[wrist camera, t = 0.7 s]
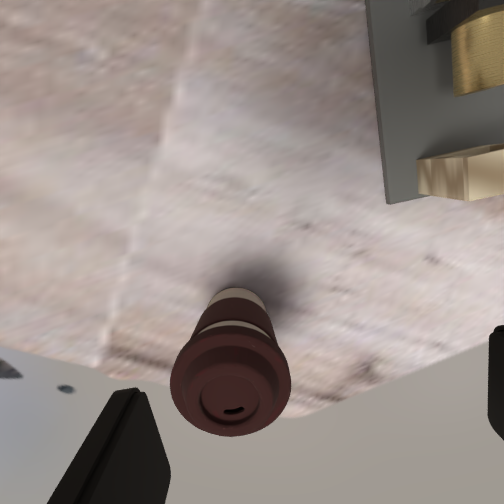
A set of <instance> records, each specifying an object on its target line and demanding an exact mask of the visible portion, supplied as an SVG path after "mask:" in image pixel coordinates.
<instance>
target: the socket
mask: <svg viewBox="0 0 504 504" xmlns="http://www.w3.org/2000/svg"><path fill="white" fill-rule="evenodd" d="M416 165H417V178H418V191H419V194H424V195H430V196H437V197H444V198H450V199H457V200H464V201H473V200H478V199H482V198H487V197H492V196H496V195H501V194H504V143H502V144H492V145H481V146H476V147H472V148H467V149H463V150H458V151H454V152H449V153H445V154H440V155H436V156H431V157H427V158H423V159H418V160H416Z"/></svg>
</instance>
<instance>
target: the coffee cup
mask: <svg viewBox="0 0 504 504" xmlns="http://www.w3.org/2000/svg"><path fill="white" fill-rule="evenodd" d="M170 389H171V395H172V399H173V401H174V404H175V406H176V407H177V409H178V410H179V412H180V413H181V415H183V417H184V418H185V419H186V420H187V421H189V422H190V423H191V424H193V425H194V426H195V427H197V428H199V429H201V430H203V431H206V432H208V433H211V434H215V435H219V436H229V437H233V436H242V435H247V434H251V433H254V432H256V431H258V430H261V429H263V428H265V427H266V426H268V425H269V424H271V423H272V422H273V421H274V420H275V419H276V418H277V417H278V416H279V415H280V414H281V413H282V411H283V410H284V408H285V406H286V404H287V402H288V400H289V397H290V392H291V377H290V372H289V367H288V363H287V360H286V358H285V356H284V354H283V352H282V351H281V349H280V348H279V346H278V344H277V340H276V337H275V334H274V330H273V327H272V324H271V321H270V318H269V316H268V315H267V313H266V309H265V306H264V304H263V302H262V301H261V299H260V298H259V297H258V296H257V295H256V294H254V293H253V292H251V291H249V290H247V289H243V288H229V289H225V290H223V291H221V292H219V293H218V294H216V295H215V296H214V297H213V298H212V300H211V301H210V303H209V305H208V307H207V309H206V310H205V311H204V313H203V314H202V316H201V317H200V320H199V322H198V324H197V326H196V328H195V330H194V332H193V334H192V336H191V338H190V340H189V341H188V342H187V343H186V344H185V346H184V347H183V348H182V350H181V351H180V353H179V355H178V356H177V359H176V361H175V364H174V367H173V369H172V373H171V377H170Z"/></svg>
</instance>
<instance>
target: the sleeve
mask: <svg viewBox="0 0 504 504" xmlns="http://www.w3.org/2000/svg"><path fill="white" fill-rule="evenodd" d="M447 2H449V0H408V3H409V17H412V16H416V15H420V14H425V13H429V12H433V11H437V10H439V9H440V8H441V7H443V6H444V5H445V4H446V3H447Z"/></svg>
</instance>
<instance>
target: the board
mask: <svg viewBox="0 0 504 504" xmlns="http://www.w3.org/2000/svg"><path fill="white" fill-rule="evenodd" d="M365 5H366V14H367V24H368V33H369V43H370V52H371V62H372V72H373V81H374V91H375V100H376V110H377V119H378V129H379V139H380V148H381V158H382V167H383V177H384V187H385V196H386V204H390V205H391V204H395V203H400V202H404V201H409V200H413V199H418V198H423V197H427V196H430V195H424V194H419V191H418V178H417V165H416V160H418V159H423V158H427V157H431V156H436V155H440V154H445V153H449V152H454V151H458V150H463V149H467V148H472V147H476V146H481V145H492V144H502V143H504V85H502V86H499V87H495V88H492V89H488V90H485V91H481V92H477V93H473V94H469V95H465V96H460V97H454V95H453V72H452V49H451V40H448V41H443V42H439V43H435V44H431V45H427V32H426V20H427V19H428V18H429V17H430V16H432V15H433V14H434V13H435V12H436V11H433V12H429V13H425V14H420V15H416V16H412V17H409V3H408V0H365ZM437 11H438V10H437Z"/></svg>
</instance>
